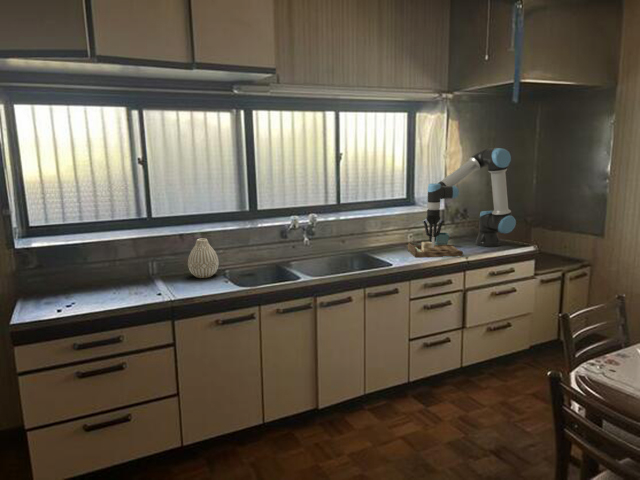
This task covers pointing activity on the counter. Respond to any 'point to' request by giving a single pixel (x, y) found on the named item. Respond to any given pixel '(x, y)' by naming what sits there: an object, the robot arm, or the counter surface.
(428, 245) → the block
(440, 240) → the flower pot
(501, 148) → the robot arm
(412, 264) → the counter surface
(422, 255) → the wooden tray
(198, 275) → the vase
